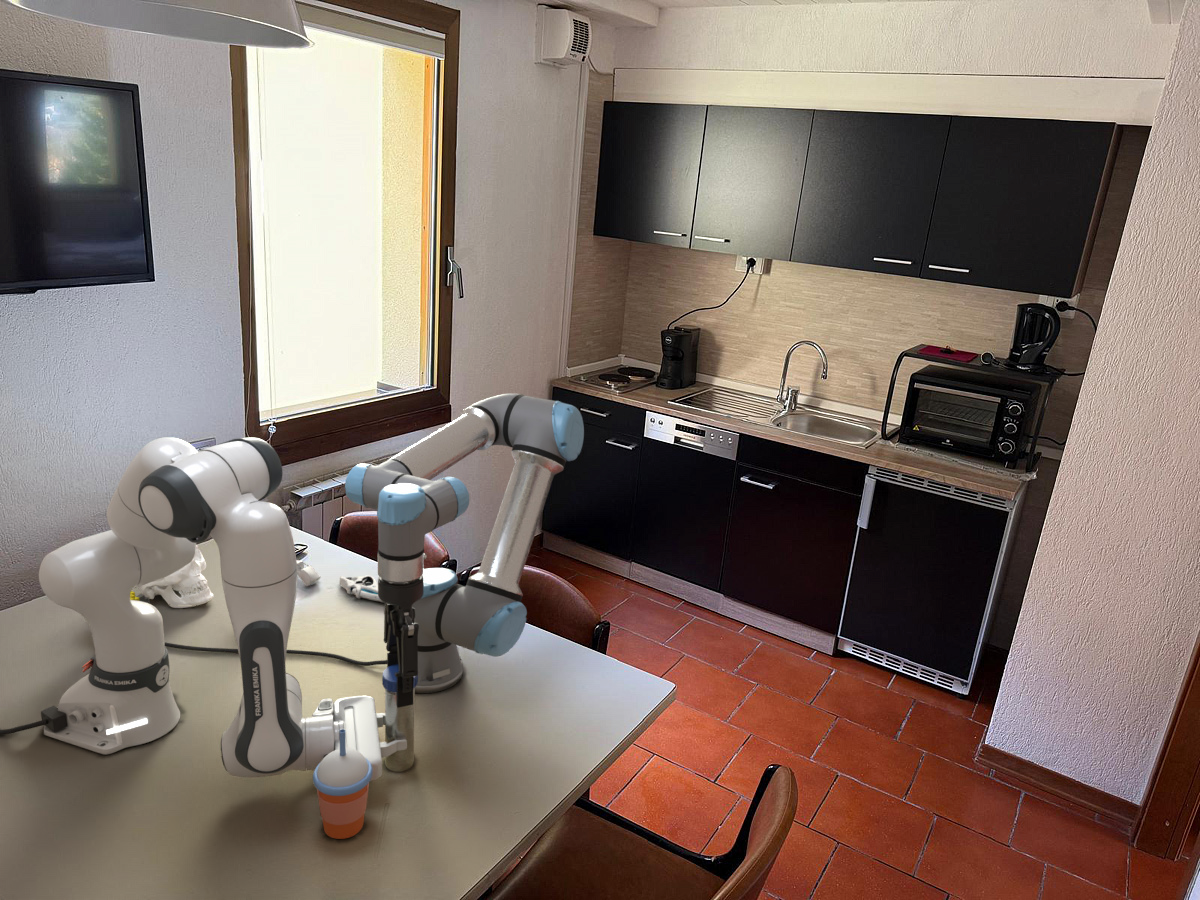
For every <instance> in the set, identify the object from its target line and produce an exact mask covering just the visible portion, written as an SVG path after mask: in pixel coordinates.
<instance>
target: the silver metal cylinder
mask: <svg viewBox="0 0 1200 900" xmlns="http://www.w3.org/2000/svg"><path fill="white" fill-rule="evenodd" d="M384 694H385V696H384V713H385V725H384V733H385V734H384V742H386V743H387V744H388V743H390V742H392V741H395V740H396V737H402V736H405V737H406V739H407V748H406V749H405V750H399V751H396V752H395V753H393V754H391V755H389V756H388V757H384V765H385V768H386V769H387V770H389V771H391V772H396V773H397V772H404V771H407V770H409V769H410V768H412V767H413V765H414V764H415V763H414V762H415V704H416V703H415V702H416V701H415V700H416V699H415V698H416V692H415V687H414V688H413V705H409V706H404V707H399V708H398V707H397V692H391V691H388V690H387V689H385V688H384Z"/></svg>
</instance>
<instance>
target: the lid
mask: <svg viewBox="0 0 1200 900" xmlns="http://www.w3.org/2000/svg"><path fill="white" fill-rule="evenodd" d="M396 672H399V667H398V664H395V665H391V666H389V667H387V666H386V668H385V669H384V670H383V671H382V676H381V677H382V678H381V679H382V680H381V684H382V686H383V688H384V690H385V689H387V690H388V691H391V692H397V677H395V673H396ZM417 682H418V676H414V682H413V688H414V687H415V686H416V685H417Z"/></svg>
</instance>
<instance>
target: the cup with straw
mask: <svg viewBox="0 0 1200 900" xmlns="http://www.w3.org/2000/svg"><path fill="white" fill-rule="evenodd" d="M372 774H373V769H372V765H371V763H370V762H369V760H368V759H366V758H365V757H364V756H363V755H362V754H361V753H360V752H358V751H356V750H354V749H350V748H346V738H345V730H344V729H342V730H340V749H337V750H334V751H332V752H331V753H329V754H328V755H327V756H325V757H324V759H323V760H322V761H321V762H320V763H319V764H318V766H317V767H316V768H315V770H313V774H312V782H313V785H314V787H315V789H316V791H317V800H318V807H319V812H320V817H321V819H322V825H323V826H322V827H323V830H324V833H325V834H326V836H328V837H330V838H331V839H336V840H344V839H348V838H352V837H354V836H355V835H357V834H358V833H360V831H362V829H363V827H364V823H365V814H366V811H367V806H368V797H369V788H370V787H369V786H370V782H371V781H370V780H371V778H372Z"/></svg>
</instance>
